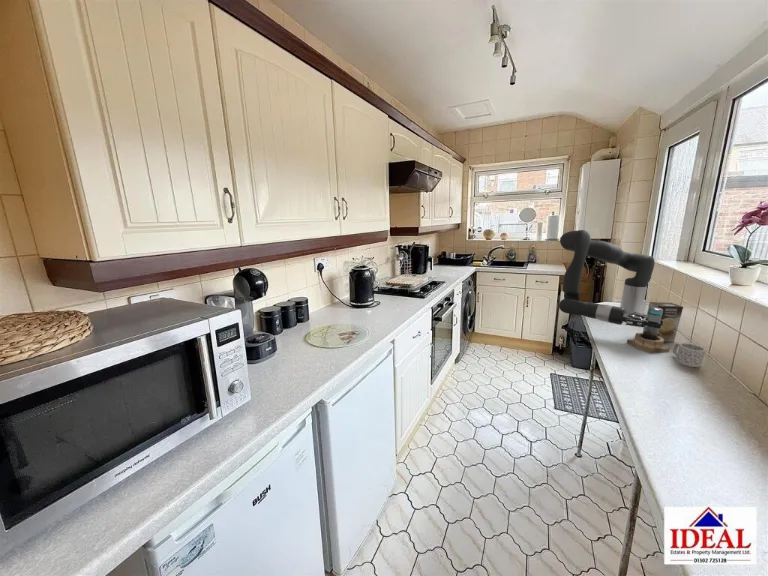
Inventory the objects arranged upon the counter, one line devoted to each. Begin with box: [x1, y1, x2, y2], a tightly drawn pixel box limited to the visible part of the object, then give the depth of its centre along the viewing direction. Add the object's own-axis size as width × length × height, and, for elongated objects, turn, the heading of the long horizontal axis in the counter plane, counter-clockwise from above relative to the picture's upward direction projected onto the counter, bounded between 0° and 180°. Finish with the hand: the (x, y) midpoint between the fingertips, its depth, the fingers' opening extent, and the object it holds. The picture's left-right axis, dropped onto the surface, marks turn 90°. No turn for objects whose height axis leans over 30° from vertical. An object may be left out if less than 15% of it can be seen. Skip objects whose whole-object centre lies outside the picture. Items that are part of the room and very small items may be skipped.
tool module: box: [642, 306, 663, 341], centre depth 122 cm, size 4×4×14 cm
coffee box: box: [642, 301, 684, 343], centre depth 131 cm, size 9×6×16 cm
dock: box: [626, 332, 671, 354], centre depth 124 cm, size 9×10×4 cm
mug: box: [672, 342, 706, 368], centre depth 112 cm, size 10×7×7 cm, turn 176°
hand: (661, 324), depth 120 cm, fingers closed on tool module, 4 cm apart
